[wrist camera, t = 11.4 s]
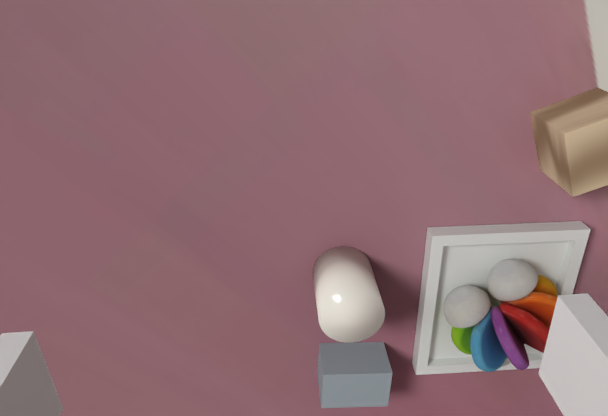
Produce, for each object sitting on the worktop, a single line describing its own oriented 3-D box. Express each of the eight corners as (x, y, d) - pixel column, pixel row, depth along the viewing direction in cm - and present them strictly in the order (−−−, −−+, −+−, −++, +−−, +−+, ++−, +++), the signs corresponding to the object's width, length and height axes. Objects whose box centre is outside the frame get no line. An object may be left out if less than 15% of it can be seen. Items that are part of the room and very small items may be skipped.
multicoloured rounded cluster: (562, 302, 46) (610, 361, 39) (467, 354, 48) (498, 417, 42) (523, 238, 42) (569, 290, 36) (423, 297, 45) (449, 356, 38)
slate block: (319, 342, 47) (323, 374, 44) (383, 341, 47) (392, 373, 44) (317, 374, 49) (321, 408, 45) (379, 372, 49) (387, 406, 46)
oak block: (529, 111, 38) (564, 133, 34) (596, 87, 37) (640, 106, 33) (539, 169, 40) (572, 197, 36) (602, 147, 40) (644, 172, 35)
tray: (427, 227, 42) (432, 236, 41) (581, 221, 43) (590, 229, 41) (412, 363, 49) (415, 374, 48) (544, 356, 49) (551, 367, 48)
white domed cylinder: (312, 247, 42) (318, 291, 37) (372, 245, 42) (387, 288, 37) (312, 296, 44) (318, 344, 39) (369, 293, 45) (383, 340, 39)
